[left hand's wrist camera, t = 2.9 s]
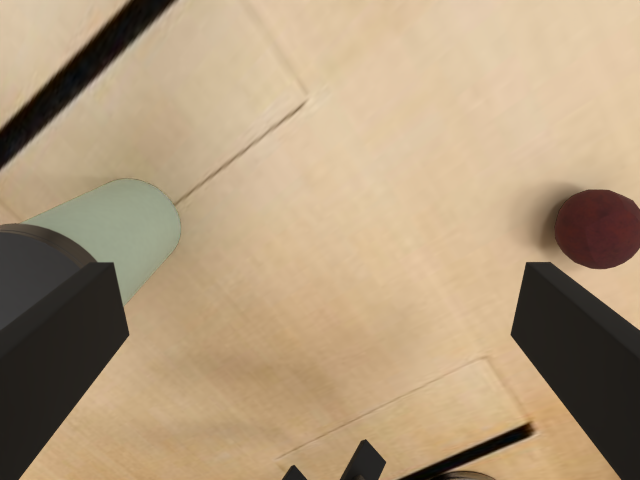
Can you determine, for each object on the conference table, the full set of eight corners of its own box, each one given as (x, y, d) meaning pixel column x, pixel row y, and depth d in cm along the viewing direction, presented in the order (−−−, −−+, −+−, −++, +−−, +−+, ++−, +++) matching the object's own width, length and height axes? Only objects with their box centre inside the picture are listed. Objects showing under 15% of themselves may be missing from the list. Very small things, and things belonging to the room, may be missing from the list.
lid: (146, 292, 27) (135, 305, 26) (67, 379, 30) (53, 395, 28) (5, 190, 24) (-17, 197, 23) (-67, 296, 27) (-90, 309, 26)
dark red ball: (555, 262, 43) (598, 294, 36) (528, 205, 40) (568, 229, 34) (621, 227, 41) (678, 254, 35) (597, 166, 39) (653, 183, 32)
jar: (199, 221, 41) (128, 302, 26) (147, 279, 44) (54, 383, 28) (122, 158, 39) (-7, 206, 23) (72, 224, 41) (-74, 305, 26)
